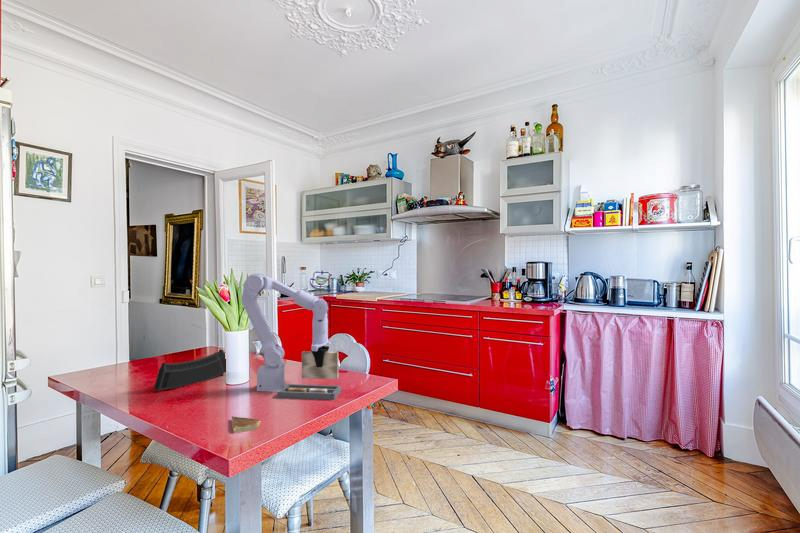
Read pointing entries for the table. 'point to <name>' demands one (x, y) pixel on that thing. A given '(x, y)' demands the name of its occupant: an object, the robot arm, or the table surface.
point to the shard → (244, 424)
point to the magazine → (190, 371)
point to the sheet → (324, 372)
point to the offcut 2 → (318, 390)
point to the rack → (330, 395)
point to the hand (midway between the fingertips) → (320, 366)
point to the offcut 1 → (297, 389)
